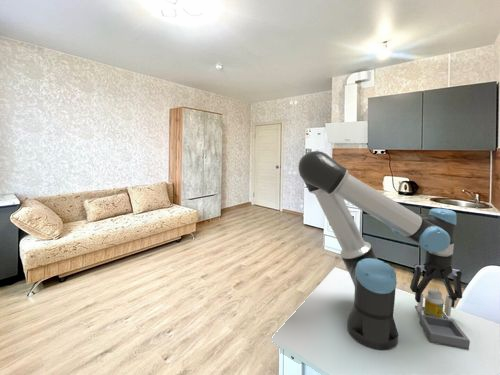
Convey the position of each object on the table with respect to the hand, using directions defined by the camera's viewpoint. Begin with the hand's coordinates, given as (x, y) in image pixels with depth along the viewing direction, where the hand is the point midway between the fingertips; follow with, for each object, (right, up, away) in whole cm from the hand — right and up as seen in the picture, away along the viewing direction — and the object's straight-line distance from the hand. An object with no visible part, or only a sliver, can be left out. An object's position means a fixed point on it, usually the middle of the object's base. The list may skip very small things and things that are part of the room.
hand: (433, 312), depth 90 cm
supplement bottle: (0, -2, 0) cm, 2 cm away
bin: (-4, -3, -9) cm, 10 cm away
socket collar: (0, -2, 0) cm, 2 cm away
